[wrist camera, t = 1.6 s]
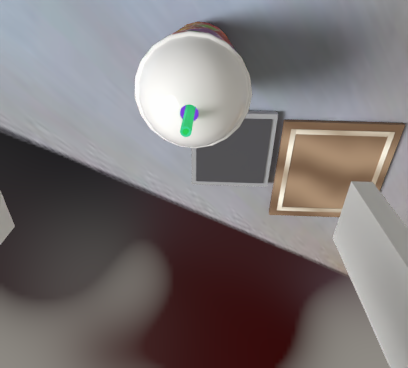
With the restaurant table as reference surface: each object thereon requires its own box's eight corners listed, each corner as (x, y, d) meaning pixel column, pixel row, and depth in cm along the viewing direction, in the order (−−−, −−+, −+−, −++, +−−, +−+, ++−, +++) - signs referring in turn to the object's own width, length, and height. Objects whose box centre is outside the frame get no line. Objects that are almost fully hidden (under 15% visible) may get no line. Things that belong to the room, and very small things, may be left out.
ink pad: (191, 109, 37) (191, 112, 36) (276, 111, 37) (278, 115, 36) (192, 180, 43) (191, 184, 42) (266, 182, 43) (267, 187, 42)
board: (284, 119, 38) (285, 121, 37) (402, 123, 38) (405, 125, 37) (268, 212, 45) (269, 215, 45) (367, 215, 45) (369, 218, 45)
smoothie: (161, 89, 36) (113, 186, 20) (163, 6, 32) (104, 41, 15) (233, 97, 37) (247, 200, 20) (246, 16, 32) (278, 61, 15)
